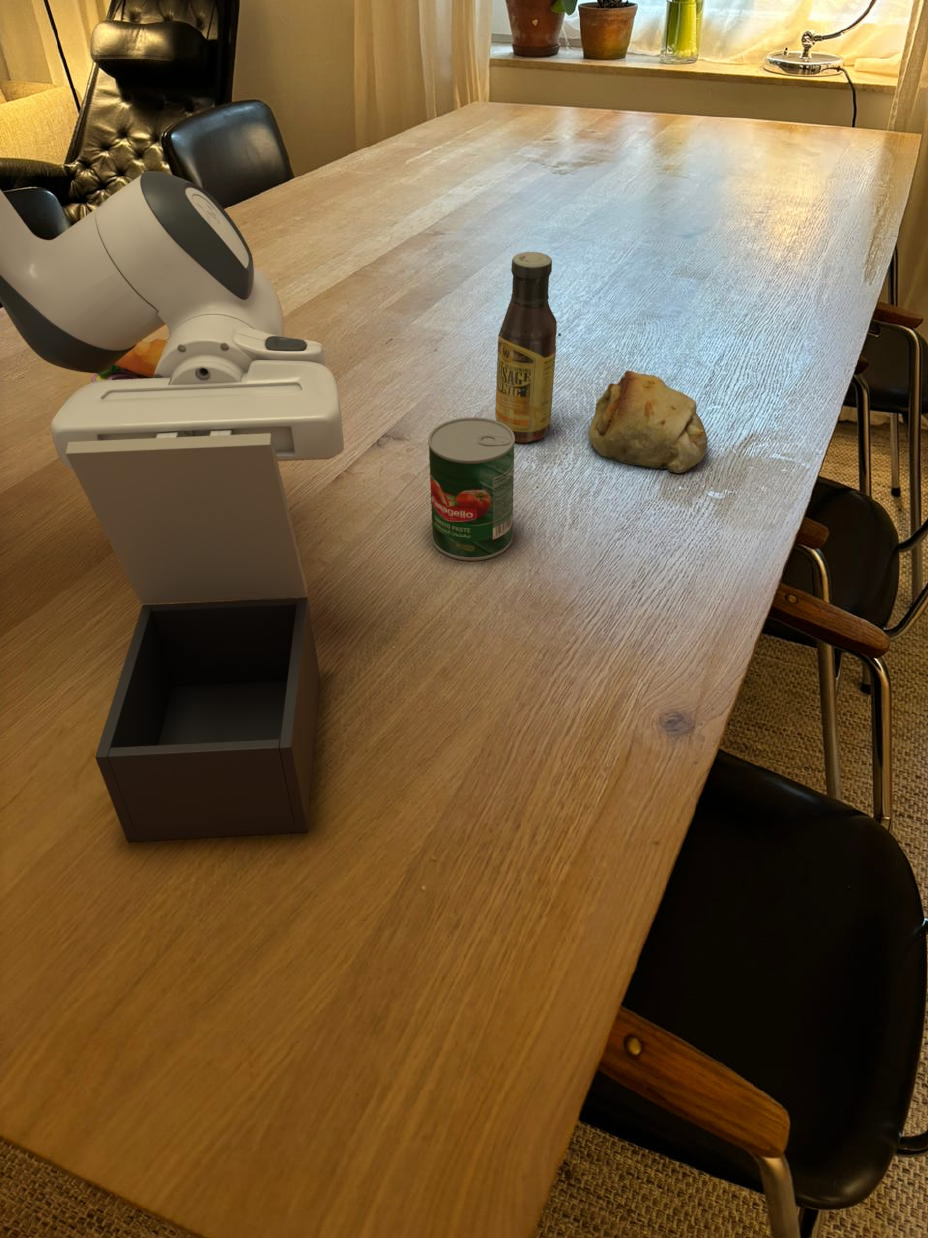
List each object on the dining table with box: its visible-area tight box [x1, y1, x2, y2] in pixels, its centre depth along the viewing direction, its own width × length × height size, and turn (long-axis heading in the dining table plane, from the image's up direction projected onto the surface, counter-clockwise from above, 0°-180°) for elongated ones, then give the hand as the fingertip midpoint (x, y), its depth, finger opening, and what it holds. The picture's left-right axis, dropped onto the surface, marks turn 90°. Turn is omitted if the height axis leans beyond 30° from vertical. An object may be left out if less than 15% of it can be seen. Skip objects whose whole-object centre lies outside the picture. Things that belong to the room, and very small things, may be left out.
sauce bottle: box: [494, 251, 558, 444], centre depth 106 cm, size 6×6×20 cm
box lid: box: [66, 433, 308, 605], centre depth 69 cm, size 17×13×1 cm
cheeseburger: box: [90, 338, 168, 383], centre depth 116 cm, size 10×11×10 cm
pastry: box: [588, 370, 708, 474], centre depth 107 cm, size 14×12×8 cm
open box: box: [94, 596, 321, 843], centre depth 73 cm, size 16×13×9 cm
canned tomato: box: [427, 416, 516, 562], centre depth 93 cm, size 8×8×11 cm
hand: (186, 480), depth 66 cm, fingers closed
